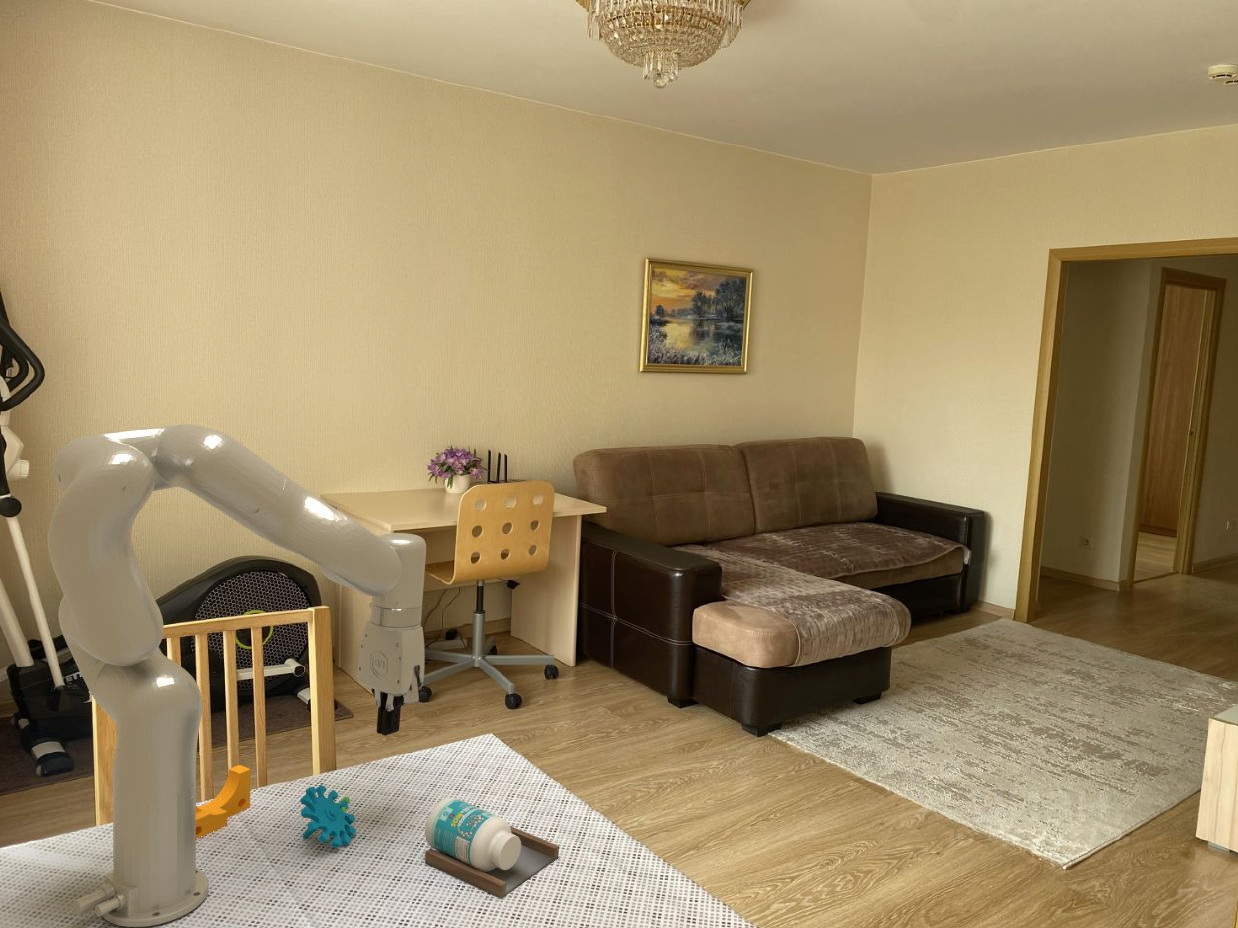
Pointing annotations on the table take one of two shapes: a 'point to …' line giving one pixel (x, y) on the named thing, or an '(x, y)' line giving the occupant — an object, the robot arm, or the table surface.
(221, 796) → the pipe clamp
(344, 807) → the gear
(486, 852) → the pill bottle
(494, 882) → the cradle
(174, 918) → the robot arm
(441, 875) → the table surface
